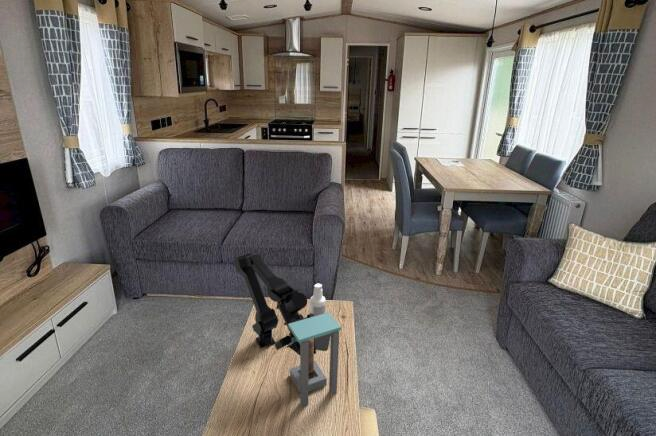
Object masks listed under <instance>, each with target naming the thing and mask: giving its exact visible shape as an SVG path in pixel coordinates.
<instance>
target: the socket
mask: <svg viewBox="0 0 656 436" xmlns="http://www.w3.org/2000/svg"><path fill="white" fill-rule="evenodd" d="M311 374H312V376H314V377H312V378H310V379H309V378H308V393H309V392H311V391H313V390H317V389H319V388H322V387H324V386H327V383H328V381H327V379H328V378H327V376H326V375H325V374H324V373H323V371H322V369H321V368H320V366H319V365H318V364H317V362H316V361H315V359H314V370H313V372H311ZM289 376H290V378H291V380H292V381H293V383H294V385H295V388H297V391H298V392H299V393H300V365H296V366H293V367H291V368H289Z"/></svg>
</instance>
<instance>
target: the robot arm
mask: <svg viewBox="0 0 656 436" xmlns="http://www.w3.org/2000/svg"><path fill="white" fill-rule="evenodd" d="M232 264H233V266H234V269H236V271H237V273H238V274H239V275H240V276H242V277H243V278H244V281H245V283H246V287H247V290H248V291H249V295H250V297H251V300H252V302H253V306H254V308H255V316H254V320H255V323H254V324H252V331H253V332H254V333H255V334H257V337H256V338H255V340H256V342H257V344H258V347H259V348H260V349H262V348H265V347H269V346H272V345H274V347H275V350H276V351H278V350H280V349H282V348H284V347H286V348H289V349H291V350H292V351H294V352H295V353H296V354H297V355H298V356H300V343H299V342H298V341H297V339H296V338H295V336H294V335H293V333H292V332H291V330H290V329H289V327H288V324H289V323H293V322H296V321H300V320H304V319H307V318H311V317H314V314H313V313H310V312H309V313H308V314H306V316H305V317H304V316H303V314H302V313H299V312H300V311H301V310H303V309H304V308H305V307H306V306H307V305H308V299H307V296H306V295H305V294H304V293H302V292H299V291H298V289H294V288H293V287H292V286H291V285H290V284H288V282H286V281H285V280H284V279H283V278H280V277H278V276H276V274H275V273H274V272H273V271H272V270H271V268H270V267H269V266H268V265H267V264H266V262H265V261H264V260H263V259H262V256H261V255H260V253H254V254H253V253H251V252H246V253H243V254H239V255H237V256H235V257H234V260H233V262H232ZM257 276H258V277H257ZM258 278H260V279H261V281H262V283H264V285H265V287H266V293H267V294H268V296H269V299H271V301H272V302H276V303H277V304H276V307H275V309H276V310H279V312H280V315H281V316H282V318H283V321H284V323H283V324H284V326H286V327H287V329H288V331H289V333H288V335H286V336H284V337H282V338H280V339H277V341H275V339H274V337H273V330H274V329H276V328H277V327H278V324H279V317H278V316H277V314H276V311H275V309H274V308H271V307H270V306H268V303H267V300H266V298H265V296H264V293H263V289H262V288H261V284H260V281H259V279H258ZM316 354H317V350H316V347H315V338H314V355H316Z"/></svg>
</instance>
